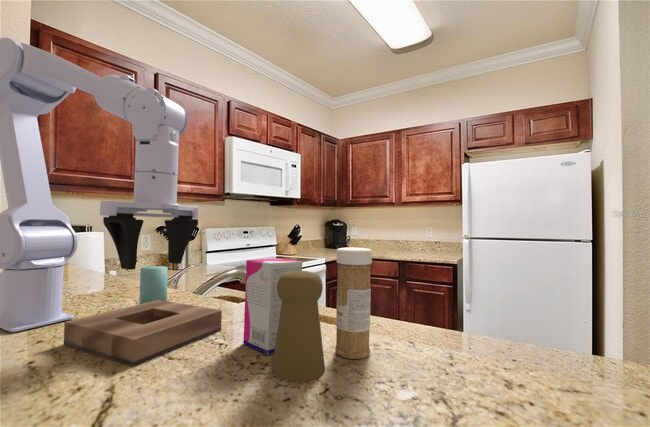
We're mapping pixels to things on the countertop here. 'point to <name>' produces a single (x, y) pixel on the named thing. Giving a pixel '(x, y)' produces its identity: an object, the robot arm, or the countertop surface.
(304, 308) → the brown tall rounded piece
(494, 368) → the countertop surface
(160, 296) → the peg
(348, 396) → the countertop surface
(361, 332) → the sprinkles bottle
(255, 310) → the supplement box
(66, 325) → the socket block
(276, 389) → the countertop surface
